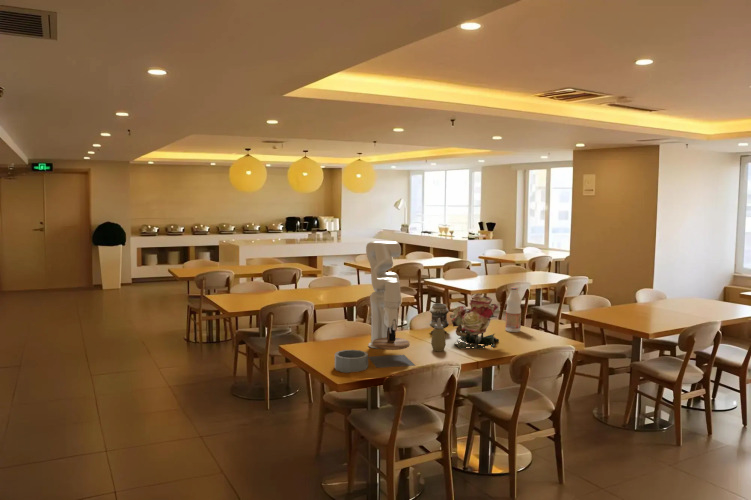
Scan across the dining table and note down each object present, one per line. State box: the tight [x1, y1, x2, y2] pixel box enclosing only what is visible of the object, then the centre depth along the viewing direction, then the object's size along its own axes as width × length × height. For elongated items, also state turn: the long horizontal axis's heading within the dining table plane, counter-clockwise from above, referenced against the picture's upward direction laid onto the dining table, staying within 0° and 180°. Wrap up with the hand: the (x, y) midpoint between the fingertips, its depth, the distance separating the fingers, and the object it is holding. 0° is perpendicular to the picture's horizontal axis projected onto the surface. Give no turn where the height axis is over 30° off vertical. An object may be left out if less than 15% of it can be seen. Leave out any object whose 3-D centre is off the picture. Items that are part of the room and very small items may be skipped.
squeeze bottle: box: [431, 318, 447, 352], centre depth 317 cm, size 8×8×18 cm
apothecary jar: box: [429, 303, 450, 335], centre depth 359 cm, size 12×12×18 cm
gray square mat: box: [368, 354, 416, 369], centre depth 293 cm, size 20×20×1 cm
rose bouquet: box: [449, 293, 500, 350], centre depth 330 cm, size 26×29×30 cm
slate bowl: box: [334, 349, 369, 374], centre depth 282 cm, size 16×16×7 cm
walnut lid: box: [373, 330, 410, 351], centre depth 293 cm, size 19×19×7 cm
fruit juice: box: [505, 286, 522, 333], centre depth 366 cm, size 9×9×28 cm
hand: (391, 339), depth 293 cm, fingers closed on walnut lid, 3 cm apart
